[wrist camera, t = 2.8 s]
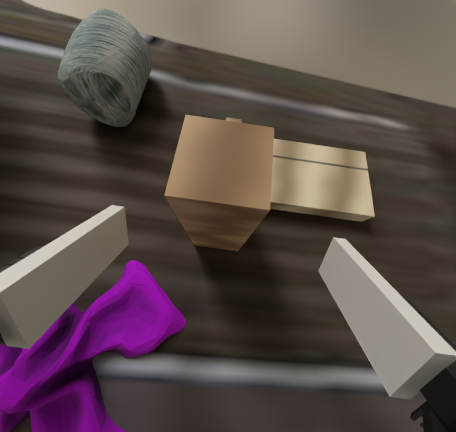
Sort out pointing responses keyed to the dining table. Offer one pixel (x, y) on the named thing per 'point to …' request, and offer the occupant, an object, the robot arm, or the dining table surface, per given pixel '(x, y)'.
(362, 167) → the board
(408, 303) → the robot arm
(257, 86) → the dining table surface
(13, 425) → the cloth
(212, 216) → the tan angular block
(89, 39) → the spool
